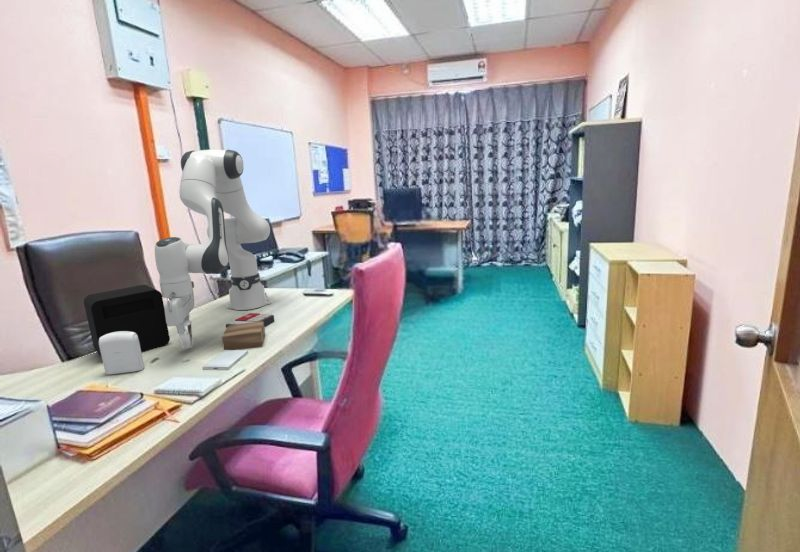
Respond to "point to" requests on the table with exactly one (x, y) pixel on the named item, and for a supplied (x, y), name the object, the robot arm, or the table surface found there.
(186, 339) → the milkshake
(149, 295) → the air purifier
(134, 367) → the photo printer
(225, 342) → the walnut base
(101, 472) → the table surface
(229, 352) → the hard drive
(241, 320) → the book
